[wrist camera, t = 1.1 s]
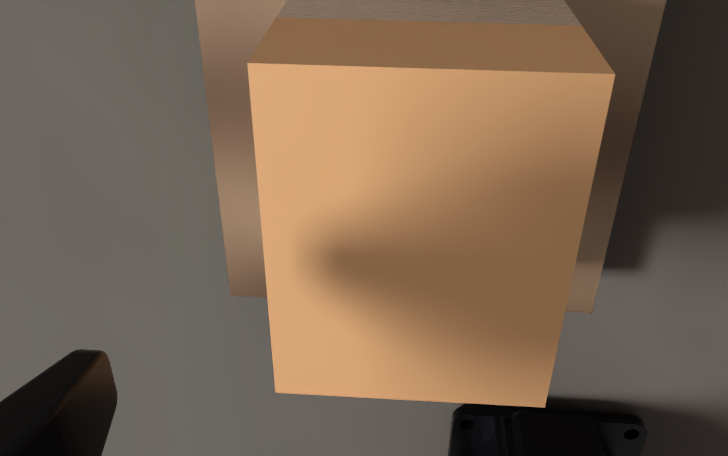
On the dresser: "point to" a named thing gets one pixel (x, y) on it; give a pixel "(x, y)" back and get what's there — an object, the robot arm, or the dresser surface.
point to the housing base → (436, 11)
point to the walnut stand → (236, 141)
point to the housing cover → (423, 202)
